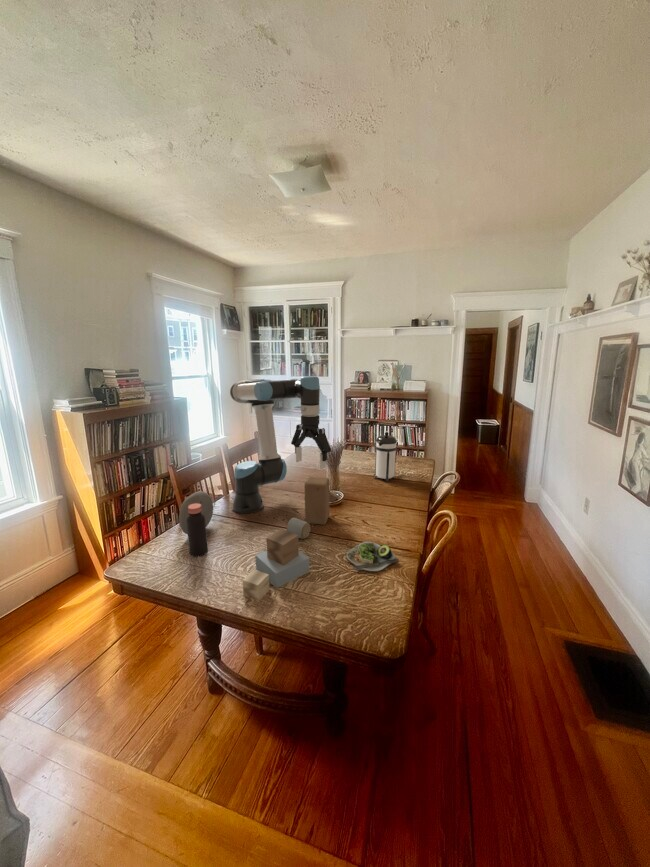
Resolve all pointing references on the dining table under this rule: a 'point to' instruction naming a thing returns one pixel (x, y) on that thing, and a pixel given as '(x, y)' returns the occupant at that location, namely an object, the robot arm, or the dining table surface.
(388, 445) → the coffee press
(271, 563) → the slate block
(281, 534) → the walnut cube
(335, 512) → the dining table surface
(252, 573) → the maple cube
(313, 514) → the wooden block
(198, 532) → the bottle
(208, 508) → the grey round disc
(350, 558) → the salad plate
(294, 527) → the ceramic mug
